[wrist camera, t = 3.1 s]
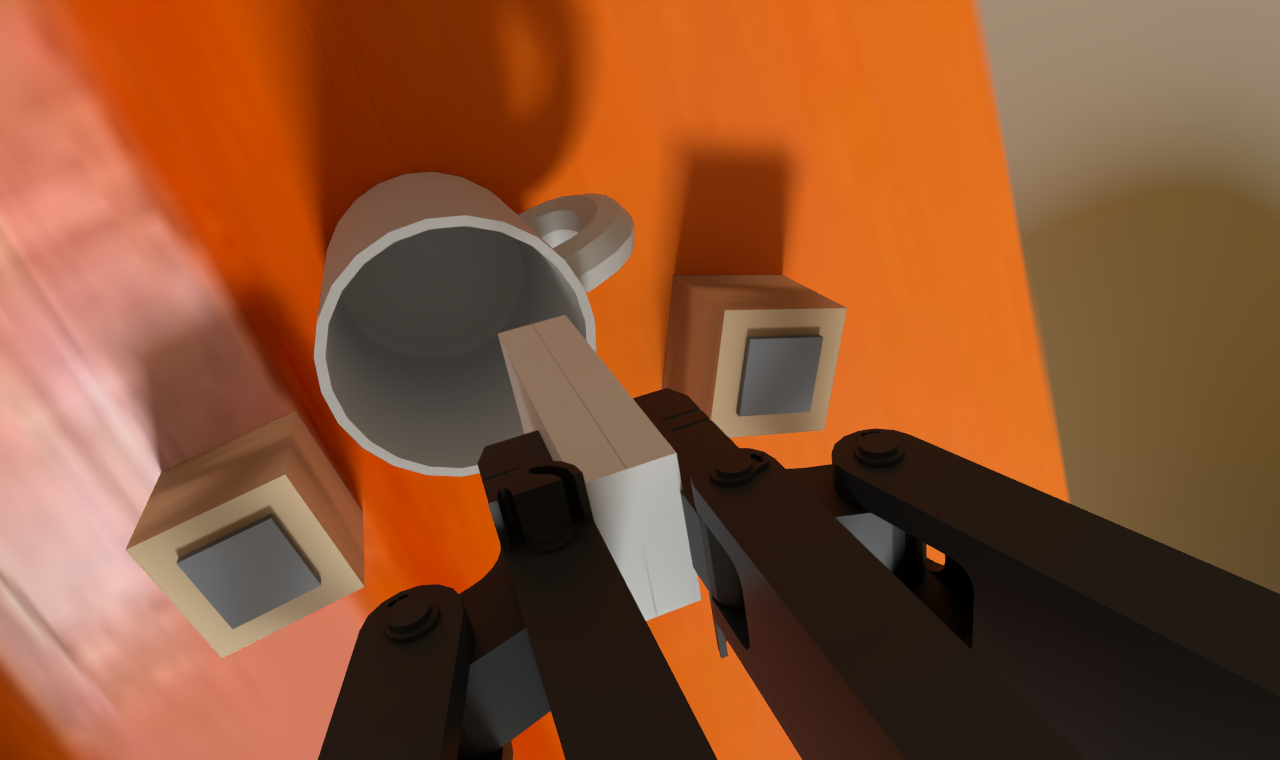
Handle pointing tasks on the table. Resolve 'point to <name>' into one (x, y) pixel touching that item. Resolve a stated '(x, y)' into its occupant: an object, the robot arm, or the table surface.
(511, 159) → the table surface
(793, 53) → the table surface
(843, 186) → the table surface
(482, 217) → the cup
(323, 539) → the oak block
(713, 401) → the oak block
